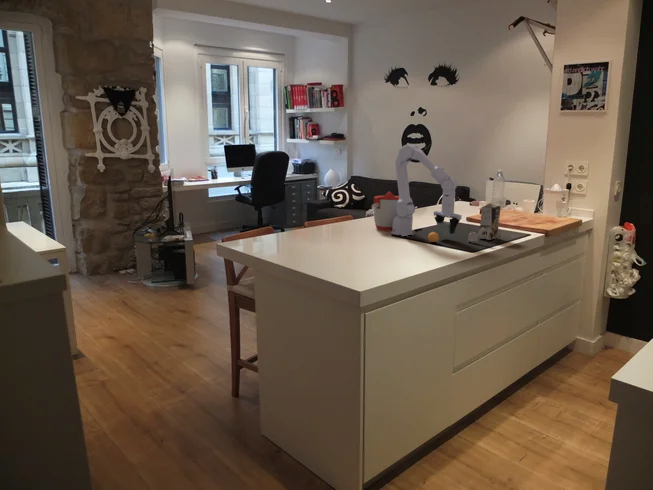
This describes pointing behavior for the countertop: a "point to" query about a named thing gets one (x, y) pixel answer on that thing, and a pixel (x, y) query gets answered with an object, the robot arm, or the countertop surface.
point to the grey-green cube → (444, 229)
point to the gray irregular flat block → (475, 235)
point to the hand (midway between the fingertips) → (446, 232)
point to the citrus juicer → (385, 211)
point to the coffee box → (490, 221)
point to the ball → (433, 237)
